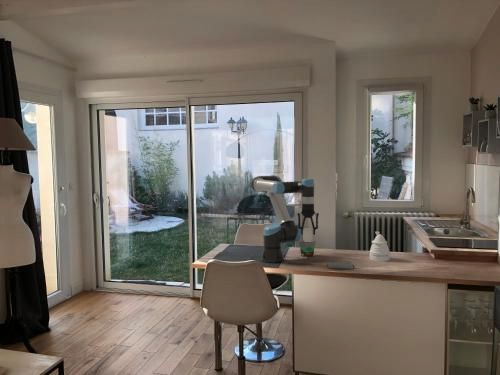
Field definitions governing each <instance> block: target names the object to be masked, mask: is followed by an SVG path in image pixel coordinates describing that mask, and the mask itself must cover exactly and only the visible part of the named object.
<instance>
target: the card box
mask: <svg viewBox="0 0 500 375" xmlns="http://www.w3.org/2000/svg"><path fill="white" fill-rule="evenodd" d="M303 229H304V240H303V243H305V242H313V240H312V229H313V227H309V228H308V227H303Z"/></svg>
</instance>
